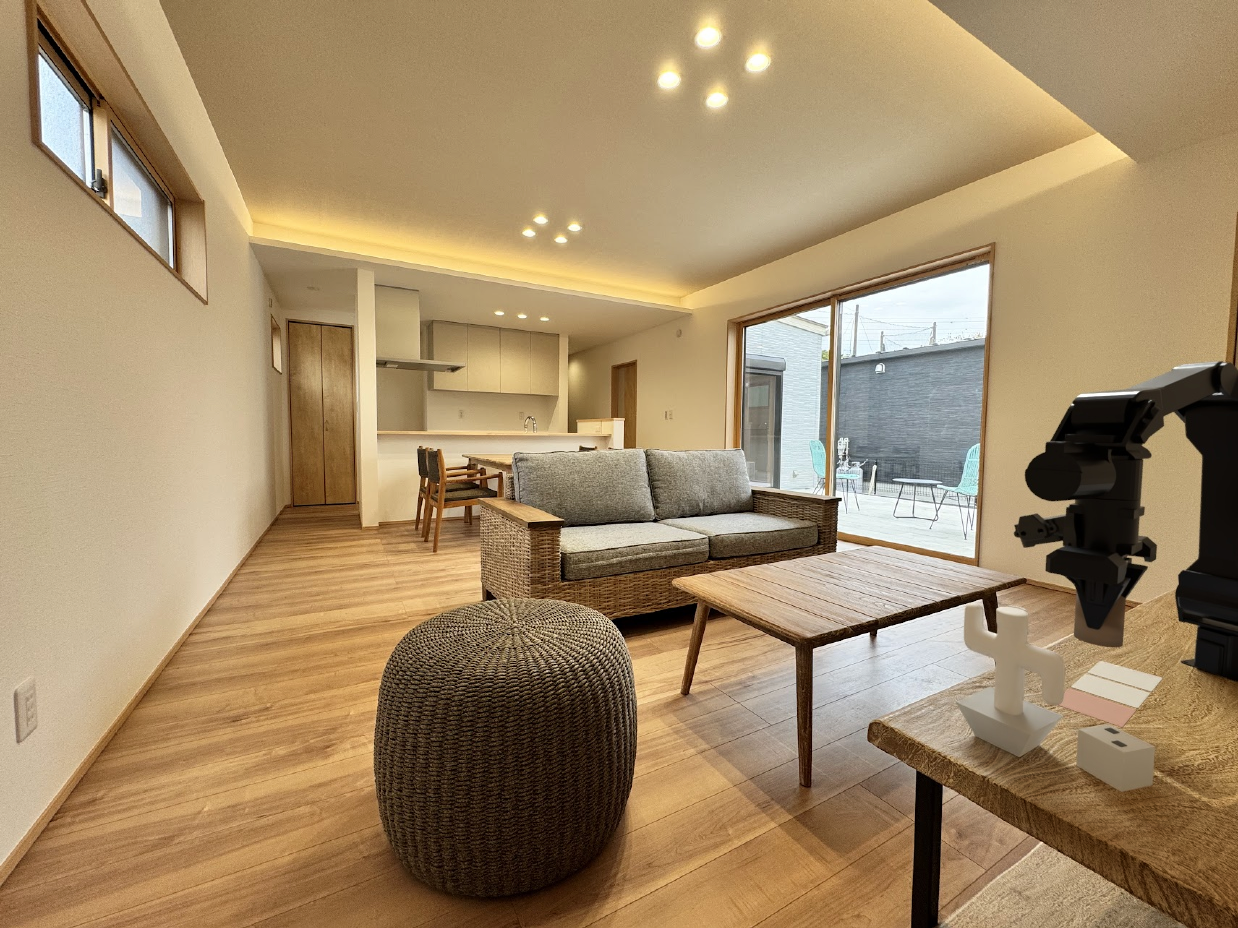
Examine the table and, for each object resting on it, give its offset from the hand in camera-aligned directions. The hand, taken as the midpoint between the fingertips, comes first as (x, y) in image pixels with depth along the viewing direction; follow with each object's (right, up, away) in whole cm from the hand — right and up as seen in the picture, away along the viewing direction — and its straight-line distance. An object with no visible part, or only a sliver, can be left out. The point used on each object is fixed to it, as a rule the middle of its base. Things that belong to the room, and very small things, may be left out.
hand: (1099, 624), depth 63 cm
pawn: (0, -2, 0) cm, 2 cm away
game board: (+6, -11, +5) cm, 13 cm away
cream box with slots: (-9, -12, -11) cm, 18 cm away
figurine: (-15, -12, -5) cm, 20 cm away
